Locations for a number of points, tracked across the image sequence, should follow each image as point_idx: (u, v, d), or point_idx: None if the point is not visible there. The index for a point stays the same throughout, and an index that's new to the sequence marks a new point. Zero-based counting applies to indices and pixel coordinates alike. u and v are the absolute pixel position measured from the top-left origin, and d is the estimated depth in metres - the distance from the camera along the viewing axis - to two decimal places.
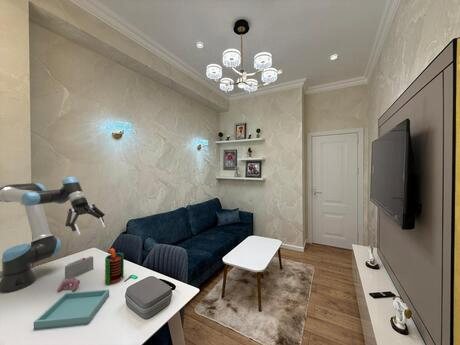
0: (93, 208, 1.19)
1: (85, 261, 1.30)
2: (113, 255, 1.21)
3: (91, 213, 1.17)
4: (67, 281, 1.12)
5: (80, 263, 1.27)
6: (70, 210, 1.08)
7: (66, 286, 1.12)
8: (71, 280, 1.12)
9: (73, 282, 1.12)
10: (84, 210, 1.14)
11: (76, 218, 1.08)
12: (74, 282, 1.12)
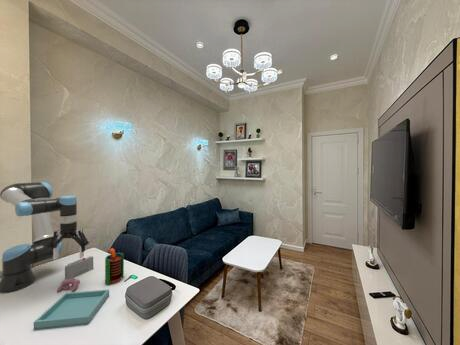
0: None
1: (85, 261, 1.30)
2: (113, 255, 1.21)
3: None
4: (67, 281, 1.12)
5: (80, 263, 1.27)
6: (54, 233, 1.09)
7: (66, 286, 1.12)
8: (71, 280, 1.12)
9: (73, 282, 1.12)
10: (67, 235, 1.10)
11: (57, 242, 1.10)
12: (74, 282, 1.12)
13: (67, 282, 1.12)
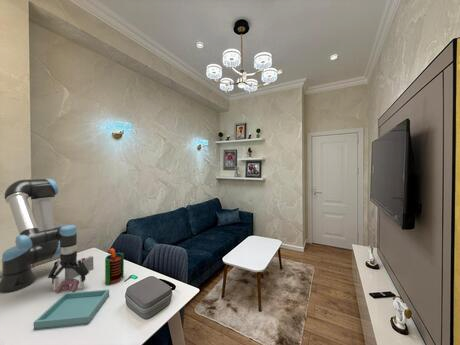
0: None
1: (85, 261, 1.30)
2: (113, 255, 1.21)
3: None
4: (66, 282, 1.11)
5: None
6: (55, 264, 1.10)
7: (65, 287, 1.12)
8: (70, 281, 1.12)
9: (72, 283, 1.11)
10: (68, 266, 1.11)
11: (57, 273, 1.10)
12: (73, 283, 1.11)
13: (67, 282, 1.11)
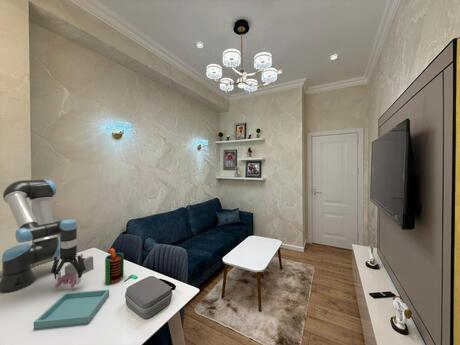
0: None
1: (85, 261, 1.30)
2: (113, 255, 1.21)
3: None
4: (66, 276, 1.11)
5: None
6: (55, 259, 1.10)
7: (65, 281, 1.12)
8: (70, 275, 1.12)
9: (72, 277, 1.11)
10: (67, 260, 1.11)
11: (59, 268, 1.10)
12: (73, 277, 1.11)
13: (66, 277, 1.11)
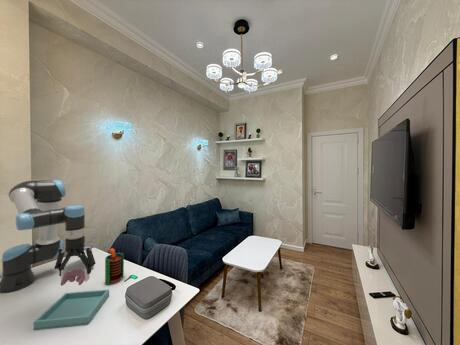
0: None
1: None
2: (113, 255, 1.21)
3: None
4: (72, 272, 0.94)
5: (80, 263, 1.27)
6: (59, 251, 0.93)
7: (71, 278, 0.94)
8: (77, 271, 0.95)
9: (79, 273, 0.94)
10: (74, 253, 0.94)
11: (64, 262, 0.93)
12: (81, 273, 0.94)
13: (73, 273, 0.94)
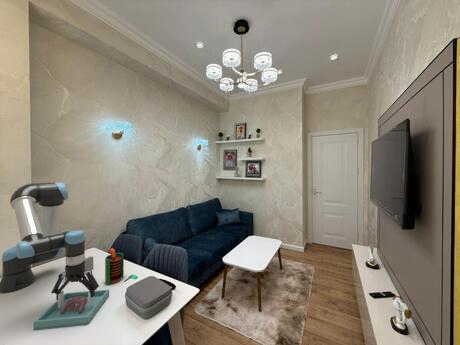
0: None
1: (85, 261, 1.30)
2: (113, 255, 1.21)
3: None
4: (72, 300, 0.94)
5: None
6: (59, 276, 0.93)
7: (71, 306, 0.95)
8: (77, 299, 0.95)
9: (79, 301, 0.94)
10: (74, 279, 0.94)
11: (62, 287, 0.93)
12: (81, 301, 0.95)
13: (73, 301, 0.94)
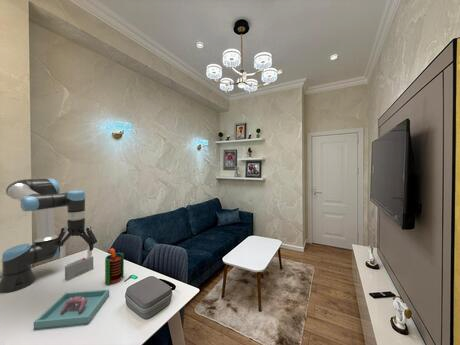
0: None
1: (85, 261, 1.30)
2: (113, 255, 1.21)
3: None
4: (72, 300, 0.94)
5: (80, 263, 1.27)
6: (62, 230, 1.03)
7: (71, 306, 0.95)
8: (77, 299, 0.95)
9: (79, 301, 0.94)
10: (75, 233, 1.04)
11: (64, 240, 1.03)
12: (81, 301, 0.94)
13: (73, 301, 0.94)
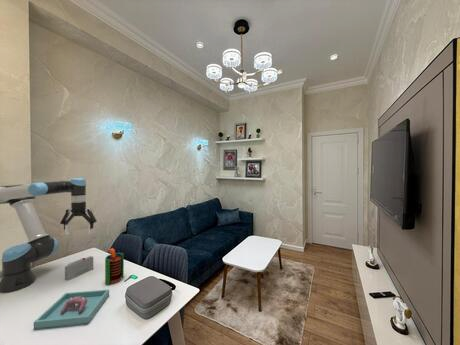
0: (88, 212, 1.24)
1: (85, 261, 1.30)
2: (113, 255, 1.21)
3: None
4: (72, 300, 0.94)
5: (80, 263, 1.27)
6: (66, 211, 1.22)
7: (71, 306, 0.95)
8: (77, 299, 0.95)
9: (79, 301, 0.94)
10: (78, 213, 1.23)
11: (68, 220, 1.22)
12: (81, 301, 0.94)
13: (73, 301, 0.94)
